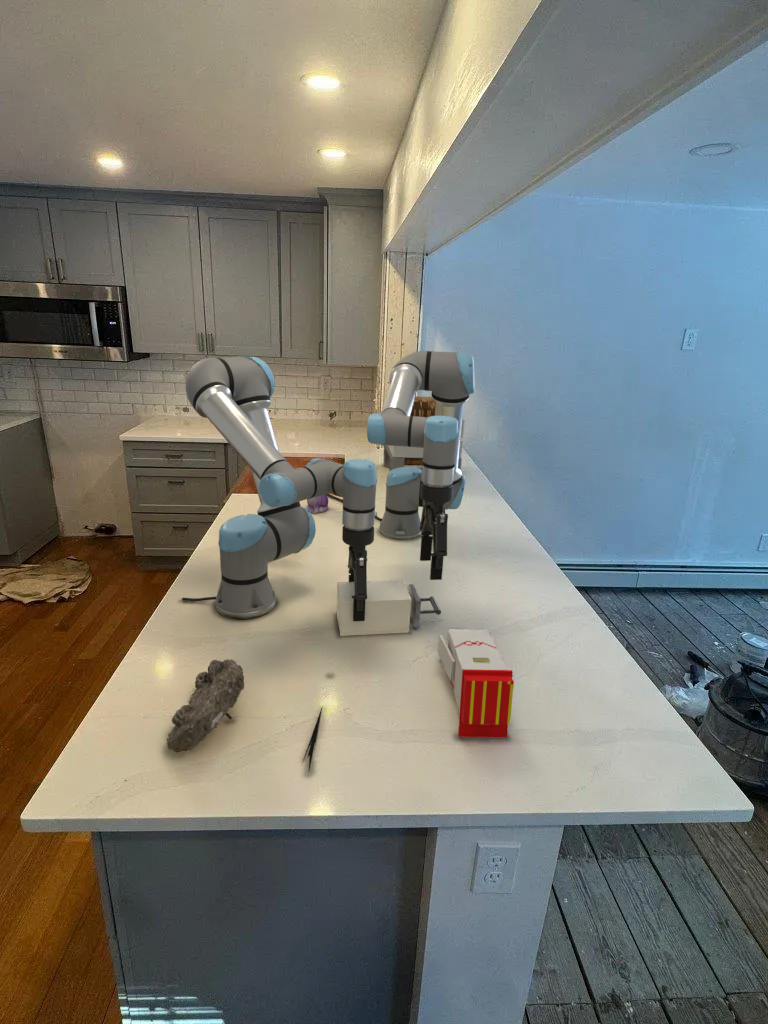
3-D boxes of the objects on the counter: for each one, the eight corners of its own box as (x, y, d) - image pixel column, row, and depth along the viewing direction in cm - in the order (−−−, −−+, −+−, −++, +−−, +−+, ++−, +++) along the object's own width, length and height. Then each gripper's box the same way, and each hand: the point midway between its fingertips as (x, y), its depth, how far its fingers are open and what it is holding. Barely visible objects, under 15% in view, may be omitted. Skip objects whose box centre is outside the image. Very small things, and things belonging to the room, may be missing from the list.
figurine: (310, 515, 213) (310, 476, 208) (301, 506, 222) (301, 469, 217) (333, 512, 218) (334, 474, 213) (323, 503, 226) (324, 467, 221)
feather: (331, 679, 122) (336, 673, 122) (307, 777, 96) (313, 769, 95) (324, 675, 122) (329, 669, 121) (298, 772, 95) (304, 764, 95)
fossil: (192, 660, 117) (244, 628, 112) (224, 691, 120) (276, 661, 115) (142, 746, 98) (202, 712, 93) (182, 779, 101) (242, 748, 96)
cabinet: (401, 611, 149) (403, 579, 146) (409, 632, 139) (411, 599, 136) (336, 614, 146) (337, 582, 143) (340, 636, 136) (341, 602, 133)
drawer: (432, 608, 149) (434, 583, 147) (441, 626, 141) (443, 600, 138) (351, 611, 146) (352, 586, 143) (355, 630, 137) (356, 603, 135)
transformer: (382, 463, 289) (386, 382, 275) (445, 464, 293) (451, 384, 279) (390, 482, 257) (394, 392, 243) (460, 483, 261) (468, 394, 247)
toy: (488, 613, 130) (523, 677, 101) (484, 667, 133) (517, 744, 104) (435, 612, 130) (455, 676, 101) (432, 666, 133) (451, 743, 103)
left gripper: (382, 544, 123) (378, 633, 131) (367, 509, 144) (364, 586, 152) (347, 545, 122) (345, 634, 129) (338, 509, 143) (336, 588, 150)
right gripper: (466, 498, 123) (458, 590, 130) (440, 470, 144) (433, 550, 151) (433, 499, 121) (426, 591, 129) (411, 470, 142) (406, 551, 150)
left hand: (356, 608), depth 140 cm, fingers closed on cabinet, 10 cm apart
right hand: (430, 569), depth 140 cm, fingers open, 10 cm apart
